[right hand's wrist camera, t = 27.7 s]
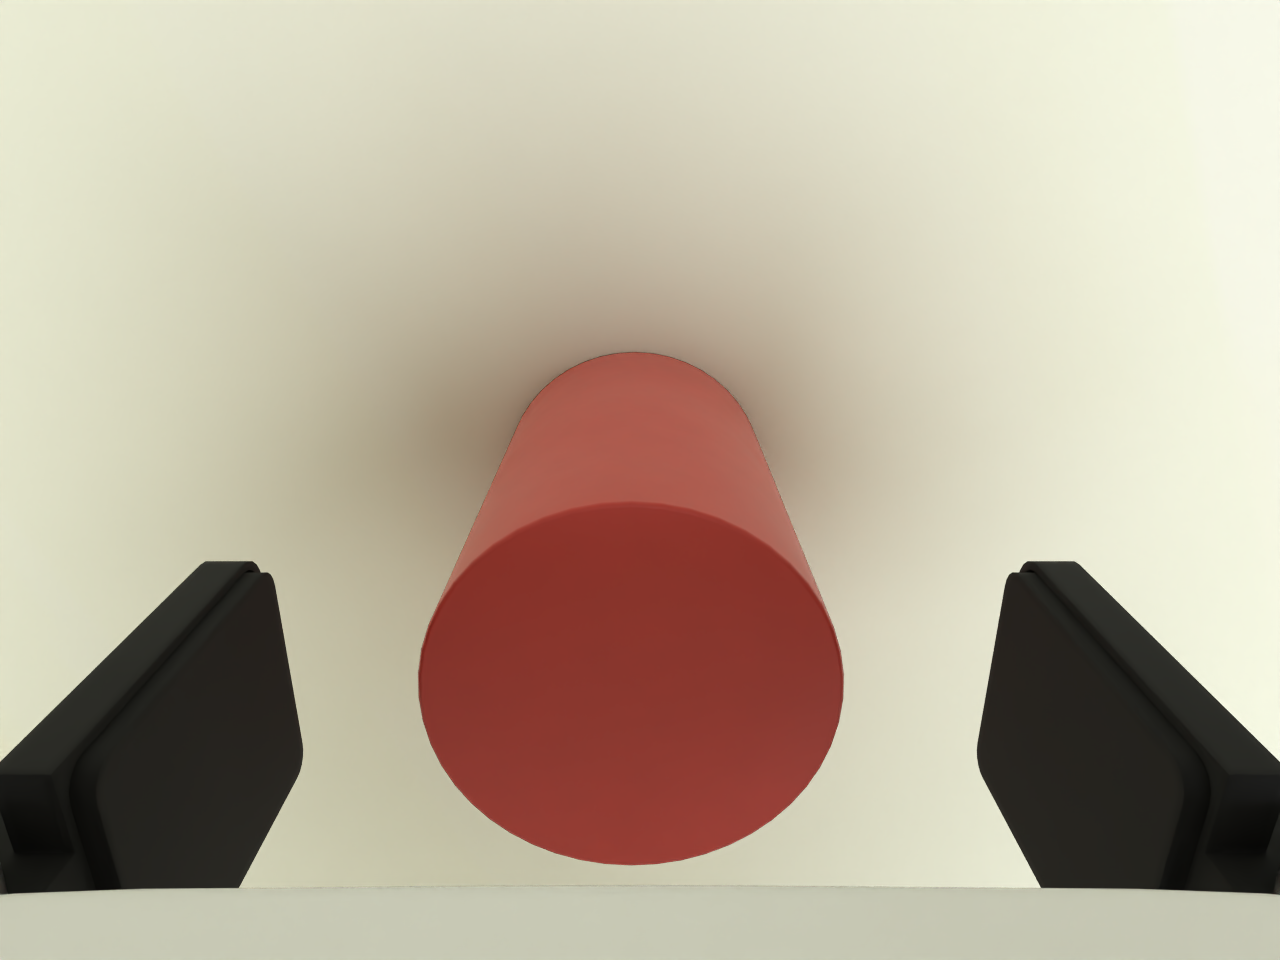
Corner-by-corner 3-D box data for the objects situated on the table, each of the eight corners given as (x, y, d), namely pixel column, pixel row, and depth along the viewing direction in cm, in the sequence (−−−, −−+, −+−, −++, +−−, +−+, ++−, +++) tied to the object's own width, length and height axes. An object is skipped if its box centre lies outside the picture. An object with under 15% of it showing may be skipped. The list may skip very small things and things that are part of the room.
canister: (809, 433, 19) (931, 633, 11) (677, 627, 20) (700, 921, 12) (585, 302, 18) (543, 419, 10) (465, 517, 19) (347, 764, 11)
